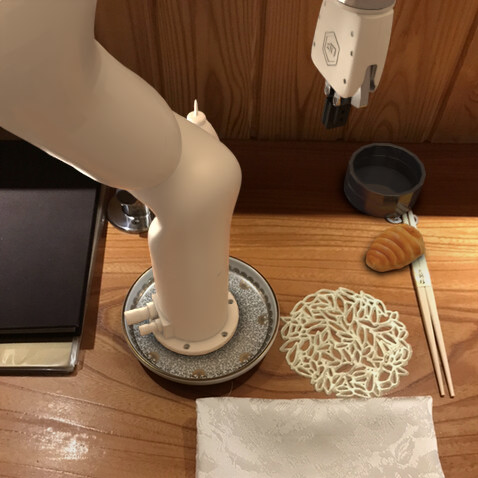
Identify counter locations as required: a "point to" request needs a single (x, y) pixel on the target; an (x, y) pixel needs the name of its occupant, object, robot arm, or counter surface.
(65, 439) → the counter surface
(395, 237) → the pastry
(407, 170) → the pot
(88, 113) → the robot arm
